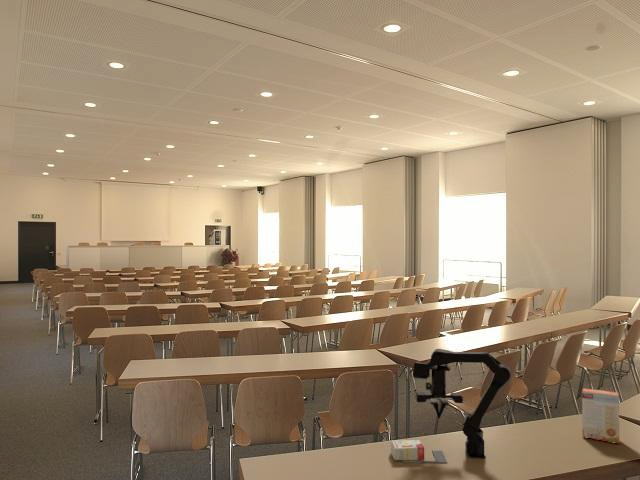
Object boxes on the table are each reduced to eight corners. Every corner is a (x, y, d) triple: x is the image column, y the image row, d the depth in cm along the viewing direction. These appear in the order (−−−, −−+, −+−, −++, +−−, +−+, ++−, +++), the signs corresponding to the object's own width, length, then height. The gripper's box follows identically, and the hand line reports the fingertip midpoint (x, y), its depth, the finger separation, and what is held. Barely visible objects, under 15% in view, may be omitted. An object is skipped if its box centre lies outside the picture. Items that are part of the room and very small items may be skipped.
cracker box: (619, 440, 217) (619, 392, 217) (619, 445, 212) (619, 395, 212) (583, 433, 224) (583, 387, 224) (582, 438, 219) (581, 390, 219)
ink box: (424, 447, 195) (394, 448, 194) (424, 460, 195) (394, 461, 194) (419, 439, 203) (390, 439, 203) (419, 451, 203) (390, 452, 203)
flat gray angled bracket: (442, 451, 204) (442, 450, 204) (447, 463, 193) (447, 462, 193) (400, 450, 205) (400, 449, 205) (403, 462, 194) (403, 461, 194)
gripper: (457, 375, 214) (457, 412, 214) (413, 374, 215) (413, 411, 215) (463, 382, 203) (463, 421, 203) (416, 381, 204) (416, 420, 204)
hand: (438, 418), depth 206 cm, fingers closed
